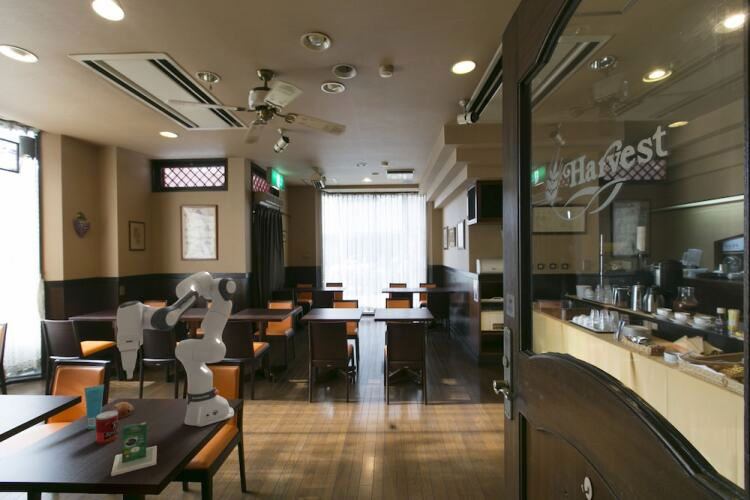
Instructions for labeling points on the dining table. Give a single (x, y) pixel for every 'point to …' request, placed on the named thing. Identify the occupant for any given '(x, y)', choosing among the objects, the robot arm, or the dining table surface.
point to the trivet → (134, 462)
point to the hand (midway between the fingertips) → (130, 374)
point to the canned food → (106, 427)
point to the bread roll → (123, 409)
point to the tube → (93, 404)
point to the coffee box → (134, 441)
